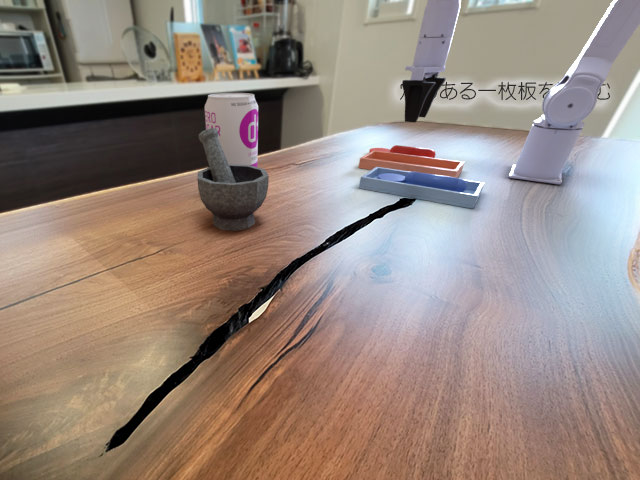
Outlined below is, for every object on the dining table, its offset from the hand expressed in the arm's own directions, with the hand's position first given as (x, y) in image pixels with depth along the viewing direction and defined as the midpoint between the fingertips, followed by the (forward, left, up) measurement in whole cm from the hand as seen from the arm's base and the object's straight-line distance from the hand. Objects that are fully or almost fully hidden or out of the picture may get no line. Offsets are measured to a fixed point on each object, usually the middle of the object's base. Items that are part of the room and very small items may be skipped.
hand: (415, 119), depth 74 cm
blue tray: (+19, +7, -8) cm, 22 cm away
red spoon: (-3, -2, -8) cm, 9 cm away
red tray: (+6, +3, -8) cm, 11 cm away
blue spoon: (+19, +7, -8) cm, 22 cm away
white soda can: (+38, -19, -9) cm, 44 cm away
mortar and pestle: (+48, -11, -9) cm, 50 cm away
